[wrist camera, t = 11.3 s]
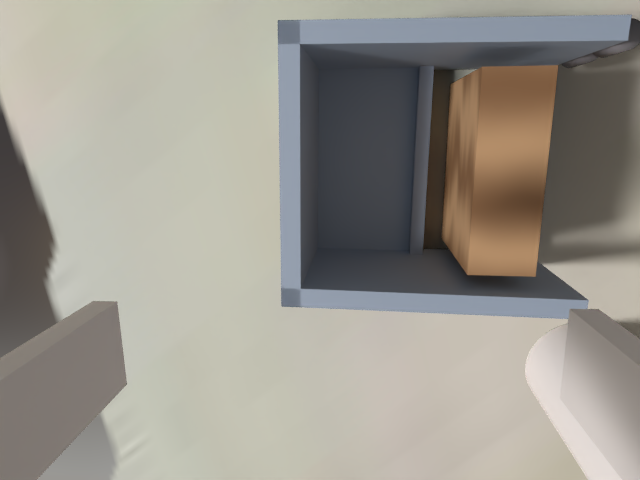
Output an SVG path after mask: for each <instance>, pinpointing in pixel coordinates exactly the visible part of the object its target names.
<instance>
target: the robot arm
mask: <svg viewBox="0 0 640 480" xmlns="http://www.w3.org/2000/svg"><path fill="white" fill-rule="evenodd" d="M126 385H127V381H126V373H125V364H124V356H123V347H122V339H121V330H120V322H119V313H118V305H117V302H110V301H93V302H91V303H89V304H88V305H86V306H84V307H83V308H81V309H80V310H78V311H76V312H75V313H73V314H71V315H70V316H68V317H66V318H65V319H63V320H62V321H60V322H58V323H57V324H55V325H54V326H52V327H50V328H49V329H47V330H45V331H44V332H42V333H40V334H39V335H37V336H36V337H34V338H32V339H31V340H29V341H28V342H26V343H24V344H23V345H21V346H19V347H18V348H16V349H15V350H13V351H11V352H9V353H8V354H7V355H5V356H3V357H2V358H0V480H37V479H38V478H39V477H40V476H41V475H42V473H43V472H44V471H45V470H46V469H47V468H48V467H49V466H50V465H51V464H52V463H53V462H54V461H55V460H56V459H57V458H58V457H59V456H60V454H61V453H62V452H63V451H64V450H65V449H66V448H67V447H68V446H69V445H70V444H71V443H72V442H73V441H74V440H75V439H76V438H77V436H78V435H79V434H80V433H81V432H82V431H83V430H84V429H85V428H86V427H87V426H88V425H89V424H90V423H91V422H92V421H93V420H94V418H95V417H96V416H97V415H98V414H99V413H100V412H101V411H102V410H103V409H104V408H105V407H106V406H107V405H108V404H109V403H110V402H111V401H112V399H113V398H114V397H115V396H116V395H117V394H118V393H119V392H120V391H121V390H122V389H123V388H124V387H125V386H126ZM560 399H561V400H562V402H563V403H564V404H565V406H566V407H567V408H568V410H569V411H570V412H571V413H572V415H573V416H574V417H575V419H576V420H577V421H578V423H579V424H580V425H581V427H582V428H583V429H584V430H585V432H586V433H587V434H588V436H589V437H590V438H591V440H592V441H593V442H594V444H595V445H596V446H597V448H598V449H599V450H600V451H601V453H602V454H603V455H604V457H605V458H606V459H607V461H608V462H609V463H610V465H611V466H612V467H613V469H614V470H615V471H616V472H617V474H618V475H619V476H620V478H621V479H622V480H640V339H639V338H638V337H636V336H635V335H633V334H632V333H631V332H629V331H628V330H627V329H625V328H624V327H622V326H621V325H620V324H618V323H617V322H615V321H614V320H613V319H611V318H610V317H609V316H607V315H606V314H604V313H603V312H602V311H600V310H599V309H569V319H568V328H567V337H566V346H565V355H564V365H563V374H562V383H561V392H560Z"/></svg>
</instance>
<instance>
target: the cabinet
mask: <svg viewBox="0 0 640 480" xmlns="http://www.w3.org/2000/svg"><path fill="white" fill-rule="evenodd" d="M631 16H632V15H586V16H522V17H459V18H395V19H331V20H278V75H279V151H280V227H281V304H282V306H284V307H307V308H330V309H353V310H376V311H398V312H421V313H444V314H467V315H490V316H512V317H535V318H558V319H569V309H587V308H588V301H589V300H587V299H586V298H585V297H584V296H582V295H581V294H580V293H578V292H577V291H576V290H574V289H573V288H572V287H570V286H569V285H568V284H566V283H565V282H564V281H563V280H561V279H560V278H559V277H557V276H556V275H555V274H553V273H552V272H551V271H549V270H548V269H547V268H545V267H544V266H543V265H542V264H540V263H539V262H538V261H537V268H536V277H530V276H488V275H467V274H466V272H465V271H464V269H463V268H462V267H461V265H460V264H459V262H458V261H457V259H456V258H455V257H454V255H453V254H452V252H451V251H450V250H447V249H423V240H424V224H425V207H426V191H427V174H428V158H429V142H430V125H431V109H432V92H433V76H434V70H446V69H479V68H481V67H489V66H542V65H559V64H562V65H563V66H564V67H567V68H572V67H576V66H579V65H582V64H585V63H588V62H592V61H594V60H595V59H597V58H598V57H600V58H604V57H608V56H611V55H614V54H617V53H621V52H624V51H627V50H630V49H633V48H635V47H636V46H637V45H638V44H639V43H640V21H638V20H636V19H633V18H631Z"/></svg>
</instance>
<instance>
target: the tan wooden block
mask: <svg viewBox="0 0 640 480" xmlns="http://www.w3.org/2000/svg"><path fill="white" fill-rule="evenodd" d="M557 73H558V65H542V66H489V67H481V68H479V69H477V70H475V71H474V72H472V73H470V74H468V75H466V76H465V77H463V78H461V79H459V80H457V81H456V82H454V83H452V84H450V98H449V116H448V133H447V151H446V169H445V186H444V204H443V222H442V240H443V241H444V242H445V244H446V245H447V247H448V248H449V249H450V251H451V252H452V254H453V255H454V257H455V258H456V259H457V261H458V262H459V264H460V265H461V267H462V268H463V269H464V271H465V272H466V274H467V275H488V276H530V277H536V268H537V259H538V250H539V240H540V231H541V222H542V212H543V203H544V194H545V184H546V175H547V166H548V157H549V147H550V138H551V129H552V119H553V110H554V101H555V91H556V82H557Z"/></svg>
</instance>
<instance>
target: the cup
mask: <svg viewBox="0 0 640 480" xmlns="http://www.w3.org/2000/svg"><path fill="white" fill-rule="evenodd" d="M567 328H568V324H565V325H562V326H559V327H556V328H554V329H552V330H550V331H548V332H547V333H545V334H544V335H543V336H542V337H540V338H539V339H538V340H537V342H536V343H535V344H534V345H533V347H532V348H531V350H530V352H529V354H528V357H527V360H526V365H525V374H526V379H527V382H528V385H529V387H530V389H531V390H532V392H533V394H534V395H535V397H536V398H537V400H538V402H539V403H540V405H541V406H542V408H543V409H544V411H545V413H546V414H547V416H548V417H549V419H550V420H551V422H552V424H553V425H554V427H555V428H556V430H557V431H558V433H559V435H560V436H561V438H562V439H563V441H564V442H565V444H566V446H567V447H568V449H569V450H570V452H571V453H572V455H573V457H574V458H575V460H576V461H577V463H578V464H579V466H580V468H581V469H582V471H583V472H584V474H585V475H586V477H587V479H588V480H622V479H621V478H620V476H619V475H618V474H617V472H616V471H615V470H614V469H613V467H612V466H611V465H610V463H609V462H608V461H607V459H606V458H605V457H604V455H603V454H602V453H601V451H600V450H599V449H598V448H597V446H596V445H595V444H594V442H593V441H592V440H591V438H590V437H589V436H588V434H587V433H586V432H585V430H584V429H583V428H582V427H581V425H580V424H579V423H578V421H577V420H576V419H575V417H574V416H573V415H572V413H571V412H570V411H569V410H568V408H567V407H566V406H565V404H564V403H563V402H562V400H561V399H560V392H561V383H562V374H563V365H564V355H565V346H566V337H567Z"/></svg>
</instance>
